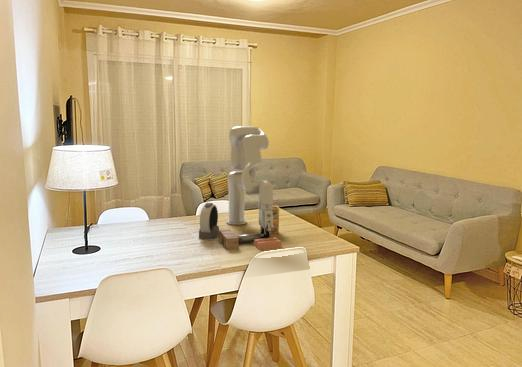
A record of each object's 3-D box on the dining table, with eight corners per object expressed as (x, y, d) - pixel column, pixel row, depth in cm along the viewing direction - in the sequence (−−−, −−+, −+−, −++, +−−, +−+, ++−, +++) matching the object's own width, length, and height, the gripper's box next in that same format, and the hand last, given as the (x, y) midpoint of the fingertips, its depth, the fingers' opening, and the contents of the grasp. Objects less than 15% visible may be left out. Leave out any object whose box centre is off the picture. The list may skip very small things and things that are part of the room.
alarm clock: (213, 240, 210) (213, 207, 207) (195, 239, 212) (194, 205, 209) (222, 232, 226) (222, 200, 222) (205, 230, 227) (205, 199, 224)
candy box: (263, 234, 223) (264, 207, 220) (261, 232, 227) (262, 205, 224) (278, 233, 225) (279, 206, 223) (276, 231, 229) (277, 204, 226)
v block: (253, 244, 205) (253, 238, 205) (274, 242, 209) (275, 236, 209) (259, 250, 197) (259, 244, 196) (281, 247, 201) (281, 241, 200)
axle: (233, 243, 204) (232, 235, 204) (231, 243, 207) (230, 235, 208) (270, 240, 210) (269, 232, 211) (267, 240, 214) (266, 232, 214)
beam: (218, 239, 211) (218, 229, 210) (229, 238, 214) (229, 228, 213) (226, 249, 197) (226, 238, 196) (238, 248, 199) (238, 237, 198)
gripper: (278, 209, 202) (277, 244, 205) (266, 202, 218) (266, 234, 221) (264, 210, 200) (263, 245, 203) (253, 203, 215) (253, 236, 218)
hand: (265, 239), depth 212 cm, fingers closed on axle, 4 cm apart
